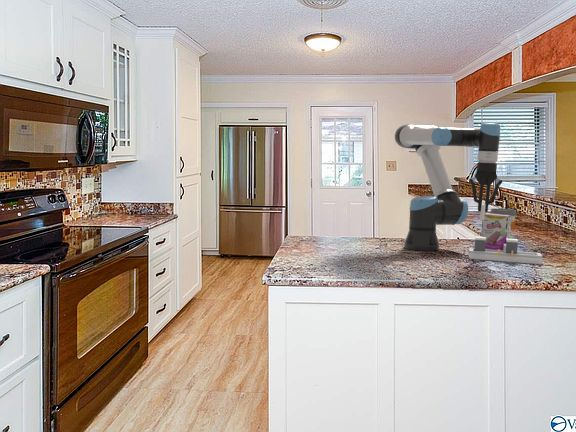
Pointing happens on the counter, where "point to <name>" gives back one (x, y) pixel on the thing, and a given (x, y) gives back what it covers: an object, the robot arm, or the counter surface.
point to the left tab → (480, 243)
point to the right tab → (511, 245)
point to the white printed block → (506, 212)
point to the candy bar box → (496, 230)
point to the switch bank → (506, 256)
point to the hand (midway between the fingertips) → (481, 219)
